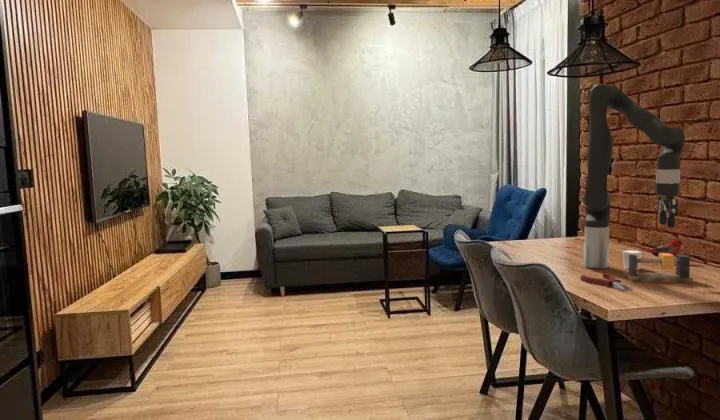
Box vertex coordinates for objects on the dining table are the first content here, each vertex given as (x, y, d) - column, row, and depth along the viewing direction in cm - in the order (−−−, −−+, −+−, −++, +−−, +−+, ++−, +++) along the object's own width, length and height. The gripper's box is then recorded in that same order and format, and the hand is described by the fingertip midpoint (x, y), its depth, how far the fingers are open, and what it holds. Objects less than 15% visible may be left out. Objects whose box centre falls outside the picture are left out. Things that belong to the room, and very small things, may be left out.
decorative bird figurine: (685, 262, 206) (686, 239, 205) (641, 263, 208) (641, 240, 207) (681, 261, 209) (682, 238, 208) (638, 262, 211) (638, 239, 210)
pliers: (614, 294, 166) (614, 287, 166) (578, 280, 186) (578, 274, 186) (644, 292, 168) (644, 284, 168) (605, 278, 188) (606, 272, 187)
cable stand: (631, 281, 180) (631, 257, 179) (625, 276, 188) (625, 253, 187) (693, 282, 175) (693, 258, 174) (684, 277, 182) (685, 253, 182)
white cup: (625, 265, 205) (625, 249, 205) (643, 267, 200) (643, 250, 200) (620, 268, 201) (620, 251, 200) (638, 270, 196) (638, 253, 195)
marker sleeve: (663, 269, 178) (663, 255, 178) (658, 266, 183) (658, 253, 182) (673, 269, 177) (674, 255, 177) (668, 266, 182) (669, 253, 182)
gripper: (650, 181, 185) (649, 223, 187) (662, 183, 172) (661, 228, 173) (672, 180, 183) (671, 223, 185) (687, 182, 170) (685, 228, 171)
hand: (666, 225), depth 179 cm, fingers open, 8 cm apart
